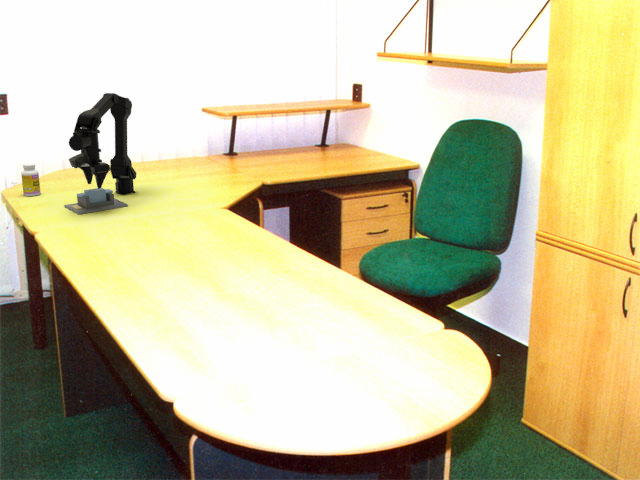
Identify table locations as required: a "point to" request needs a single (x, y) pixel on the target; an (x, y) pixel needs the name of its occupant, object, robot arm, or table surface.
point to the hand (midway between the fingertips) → (94, 186)
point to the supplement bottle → (30, 180)
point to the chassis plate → (95, 205)
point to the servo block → (95, 194)
